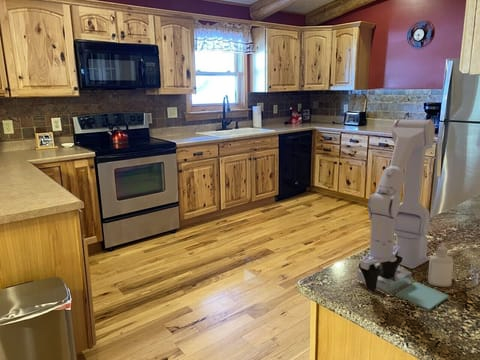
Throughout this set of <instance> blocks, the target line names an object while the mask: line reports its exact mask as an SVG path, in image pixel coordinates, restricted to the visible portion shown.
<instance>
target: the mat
mask: <svg viewBox="0 0 480 360" xmlns="http://www.w3.org/2000/svg"><path fill="white" fill-rule="evenodd" d="M394 294H395V296H396V295H397V296H396V297H398V296H399V297H398V298H400V297H401V299H402V298H403V300H404V299H406V300H408V301H407V302H409V301H410V302H409V303H411V304H413V305H416V306H417V307H420V308H423V309H424V310H426V311H429V312H430V311H431V310H432V309H434V308H435V307H437V306H438V305H439V304H441V303H442V302H444V301H445V300H447V299H449V298H450V295H449V294H447V293H445V292H442V291H439V290H437V289H434V288H432V287H429V286H427V285H424V284H423V283H420V282H417V281H415V282H412V283H411V284H410V285H408V286H406V287H405V288H403V289H401V290H399V291H398V292H396V293H394ZM406 300H405V301H406Z"/></svg>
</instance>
